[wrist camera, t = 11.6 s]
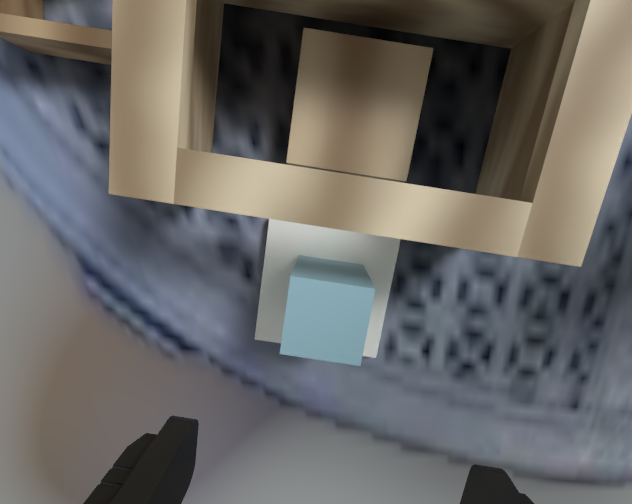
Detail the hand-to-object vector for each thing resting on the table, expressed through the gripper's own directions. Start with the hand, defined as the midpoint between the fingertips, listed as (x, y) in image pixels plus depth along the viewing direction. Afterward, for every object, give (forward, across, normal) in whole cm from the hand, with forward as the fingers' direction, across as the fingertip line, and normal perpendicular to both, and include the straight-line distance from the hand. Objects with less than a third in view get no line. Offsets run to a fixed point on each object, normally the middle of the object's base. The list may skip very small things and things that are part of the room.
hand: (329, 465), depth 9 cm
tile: (+17, 0, 0) cm, 17 cm away
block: (+16, 0, 0) cm, 16 cm away
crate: (+17, 0, -13) cm, 21 cm away
